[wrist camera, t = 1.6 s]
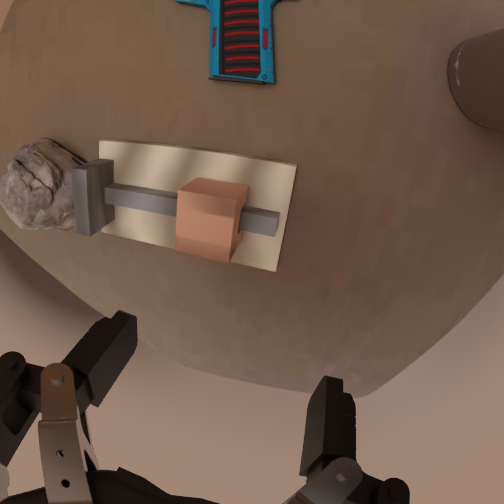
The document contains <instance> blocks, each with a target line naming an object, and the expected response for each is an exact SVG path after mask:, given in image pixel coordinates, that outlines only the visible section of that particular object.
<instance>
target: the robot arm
mask: <svg viewBox="0 0 504 504" xmlns="http://www.w3.org/2000/svg"><path fill="white" fill-rule="evenodd" d="M448 79H449V85H450V88H451V91H452V94H453V96H454V98H455V100H456V103H457V104H458V106H459V107H460V109H461V110H462V111H463V112H464V114H465V115H466V116H467V117H468V118H469V119H471V120H472V121H473V122H475V123H476V124H478V125H481V126H483V127H486V128H491V129H495V130H499V131H503V132H504V29H500V30H497V31H494V32H491V33H487V34H484V35H481V36H478V37H475V38H472V39H469V40H467V41H464V42H462V43H461V44H459V45H458V46H457V47H456V48H455V49H454V50H453V52H452V54H451V56H450V60H449V64H448ZM137 341H138V338H137V318H136V316H134V315H132V314H129V313H127V312H124V311H122V310H119V311H117V312H116V313H115V315H114V316H113V317H112V318H111V319H110V318H107V317H105V318H103V319H101V320H99V321H97V322H95V324H94V325H93V326H92V327H91V328H90V329H89V331H88V332H87V333H86V334H85V335H84V336H83V338H81V340H80V341H79V342H78V343H77V344H76V346H75V347H74V348H73V349H72V350H71V351H70V353H69V354H68V355H67V356H66V357H65V359H64V360H63V361H62V362H61V363H52V364H50V365H48V366H46V367H41V366H37V365H33V364H29V363H26V361H25V358H24V357H23V355H21V354H20V353H18V352H13V351H11V352H7V353H5V354H3V355H2V356H1V357H0V504H219V503H215V502H212V501H208V500H205V499H201V498H192V497H183V496H175V495H170V494H168V493H166V492H164V491H162V490H161V489H160V488H158V487H157V486H155V485H154V484H152V483H151V482H149V481H148V480H147V479H145V478H143V477H141V476H139V475H136V474H134V473H132V472H129V471H127V470H125V469H123V468H121V467H119V468H118V470H117V471H112V470H100V469H99V465H98V462H97V458H96V456H95V453H94V449H93V445H92V440H91V435H90V430H89V424H88V418H87V412H86V409H87V407H88V406H89V405H90V404H92V405H94V406H96V407H99V405H100V404H101V402H102V401H103V399H104V397H105V396H106V394H107V393H108V391H109V390H110V388H111V387H112V385H113V384H114V382H115V381H116V379H117V377H118V376H119V374H120V373H121V372H122V370H123V369H124V367H125V366H126V364H127V362H128V361H129V359H130V358H131V356H132V355H133V354H134V352H135V349H136V347H137ZM39 412H41V413H42V420H41V421H39V422H38V436H39V446H40V454H41V463H42V470H43V476H44V482H45V487H42V488H38V489H35V490H31V491H28V492H24V493H20V494H16V495H13V496H8V493H7V487H8V486H9V473H8V470H7V468H6V467H7V466H8V464H9V462H10V460H11V459H12V457H13V455H14V453H15V451H16V450H17V448H18V447H19V445H20V443H21V441H22V440H23V438H24V436H25V435H26V433H27V431H28V430H29V428H30V427H31V425H32V423H33V422H34V420H35V419H36V417H37V415H38V414H39ZM355 416H356V409H355V403H354V400H353V398H352V396H351V394H349V393H344V392H343V380H342V379H339V378H334V377H330V376H324V377H323V378H322V380H321V381H320V383H319V385H318V386H317V388H316V390H315V391H314V393H313V394H312V396H311V398H310V401H309V404H308V409H307V417H306V426H305V435H304V443H303V451H302V458H301V465H300V473H299V475H301V476H306V477H307V481H306V484H305V485H304V486H303V487H302V488H301V489H299V490H298V491H297V492H296V493H295V494H294V495H292V496H291V497H290V498H289V499H287V500H286V501H285V502H284V503H282V504H409V500H410V492H409V488H408V486H407V484H406V483H405V482H404V481H403V480H400V479H398V478H389V479H387V480H385V481H381V480H379V479H377V478H374V477H372V476H369V475H367V474H366V473H364V472H363V471H362V469H361V467H360V466H359V464H358V463H357V461H356V426H355V425H356V418H355Z"/></svg>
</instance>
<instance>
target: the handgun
mask: <svg viewBox="0 0 504 504" xmlns="http://www.w3.org/2000/svg"><path fill="white" fill-rule="evenodd" d="M175 1H177V2H179V3H183V4H189V5H195V6H201V7H206V8H207V9H208V10H209V11H210V13H211V20H210V62H209V75H211V76H215V77H208V79H210V80H223V81H236V82H246V83H256V84H265V83H273V84H275V66H274V43H273V22H272V7H273V6H274V4H275V3H276V1H278V0H175Z"/></svg>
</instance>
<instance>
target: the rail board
mask: <svg viewBox="0 0 504 504" xmlns="http://www.w3.org/2000/svg"><path fill="white" fill-rule="evenodd" d="M296 168H297V164H293V163H288V162H283V161H278V160H272V159H267V158H261V157H255V156H250V155H244V154H237V153H231V152H224V151H218V150H211V149H203V148H196V147H188V146H179V145H170V144H161V143H151V142H140V141H127V140H113V139H104V140H100V141H99V159H97V160H94V161H91V162H88V163H85V164H83V165H80V166H77V167H75V168H72V184H73V200H74V213H75V223H76V233H79V234H83V235H87V236H92V235H93V234H94V233H96V232H97V231H99V230H100V229H102V232H104V233H108V234H113V235H117V236H121V237H125V238H129V239H134V240H138V241H142V242H146V243H151V244H155V245H159V246H164V247H168V248H172V249H175V244H176V216H177V196H178V190H179V189H180V188H182V187H183V186H185V185H186V184H188V183H189V182H191V181H192V180H194V179H195V178H197V177H199V178H205V179H211V180H217V181H223V182H229V183H235V184H240V185H246V186H248V191H247V198H246V203H245V204H244V206H243V207H242V208H241V214H240V221H239V229H238V230H242V234H241V241H240V244H239V245H238V247H237V249H236V251H235V253H234V255H233V256H232V258H231V260H230V262H234V263H238V264H243V265H247V266H252V267H256V268H261V269H265V270H270V271H274V272H276V268H277V264H278V259H279V254H280V249H281V244H282V239H283V235H284V230H285V225H286V220H287V214H288V209H289V204H290V199H291V194H292V189H293V183H294V178H295V173H296Z"/></svg>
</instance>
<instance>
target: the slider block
mask: <svg viewBox="0 0 504 504" xmlns="http://www.w3.org/2000/svg"><path fill="white" fill-rule="evenodd" d="M247 191H248V186H246V185H240V184H235V183H229V182H223V181H217V180H211V179H205V178H199V177H197V178H195V179H194V180H192V181H191V182H189V183H188V184H186V185H185V186H183V187H182V188H180V189H179V190H178V196H177V216H176V244H175V252H179V253H183V254H188V255H192V256H196V257H201V258H205V259H209V260H214V261H218V262H222V263H227V264H229V262H230V260H231V258H232V256H233V255H234V253H235V251H236V249H237V247H238V245H239V244H240V241H241V234H242V230H238V229H239V221H240V214H241V208H242V207H243V206H244V204H245V203H246V198H247Z"/></svg>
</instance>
